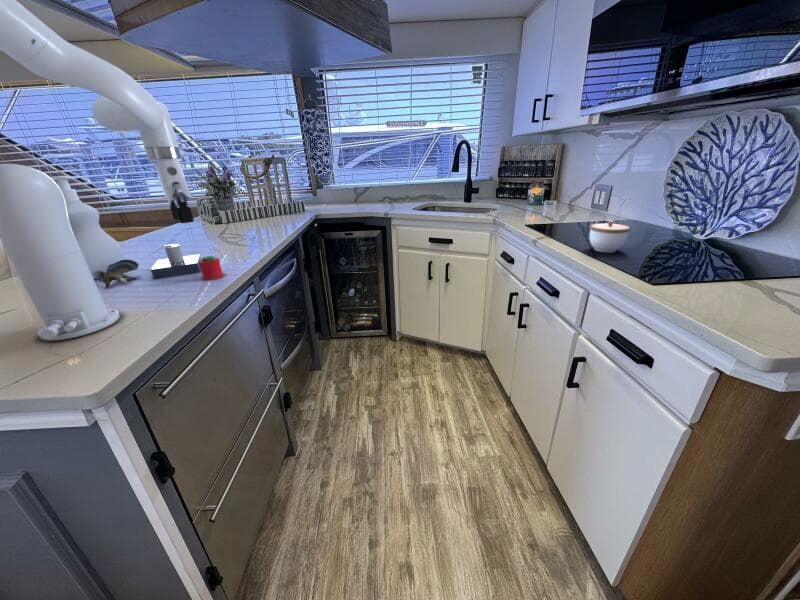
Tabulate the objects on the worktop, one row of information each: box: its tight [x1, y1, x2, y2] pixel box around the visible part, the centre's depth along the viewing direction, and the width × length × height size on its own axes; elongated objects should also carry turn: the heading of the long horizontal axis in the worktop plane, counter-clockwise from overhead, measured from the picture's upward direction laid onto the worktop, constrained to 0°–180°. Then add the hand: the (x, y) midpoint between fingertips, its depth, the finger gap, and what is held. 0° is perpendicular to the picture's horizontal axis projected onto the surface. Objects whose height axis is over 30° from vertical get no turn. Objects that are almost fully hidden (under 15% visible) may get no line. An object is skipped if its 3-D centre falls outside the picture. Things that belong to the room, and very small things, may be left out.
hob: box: [150, 254, 202, 280], centre depth 102 cm, size 12×12×3 cm
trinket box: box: [588, 220, 631, 253], centre depth 104 cm, size 11×11×9 cm
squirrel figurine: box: [93, 259, 139, 289], centre depth 92 cm, size 8×7×9 cm
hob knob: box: [163, 243, 184, 263], centre depth 101 cm, size 4×4×5 cm
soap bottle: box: [50, 175, 124, 280], centre depth 96 cm, size 17×12×29 cm
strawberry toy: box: [198, 255, 224, 281], centre depth 94 cm, size 5×5×6 cm
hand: (183, 220), depth 92 cm, fingers open, 9 cm apart
